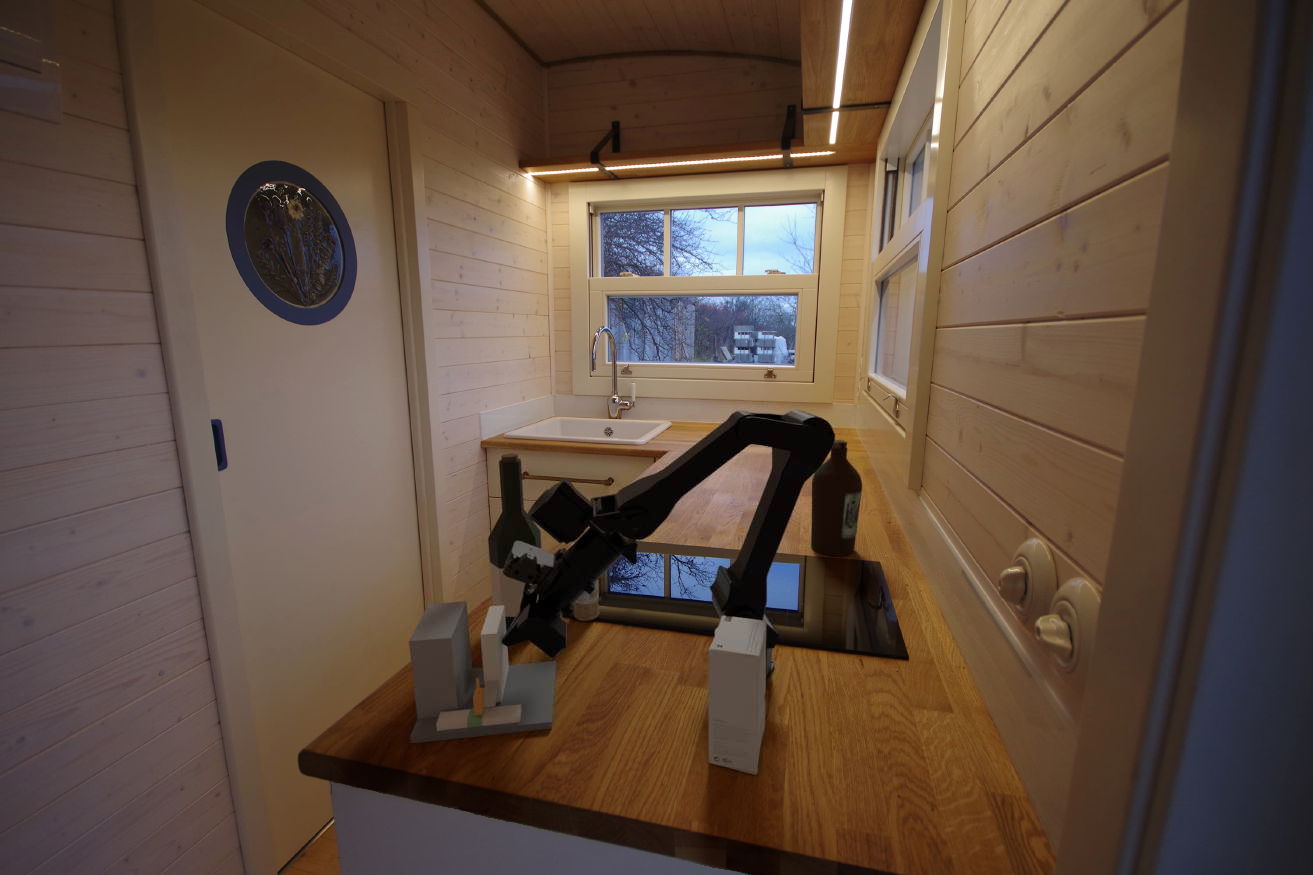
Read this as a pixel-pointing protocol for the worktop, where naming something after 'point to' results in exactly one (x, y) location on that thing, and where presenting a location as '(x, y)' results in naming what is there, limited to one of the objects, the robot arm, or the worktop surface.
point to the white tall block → (494, 656)
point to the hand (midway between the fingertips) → (504, 643)
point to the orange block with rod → (478, 699)
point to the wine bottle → (510, 537)
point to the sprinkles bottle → (587, 605)
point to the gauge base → (470, 683)
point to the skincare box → (737, 693)
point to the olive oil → (835, 504)
